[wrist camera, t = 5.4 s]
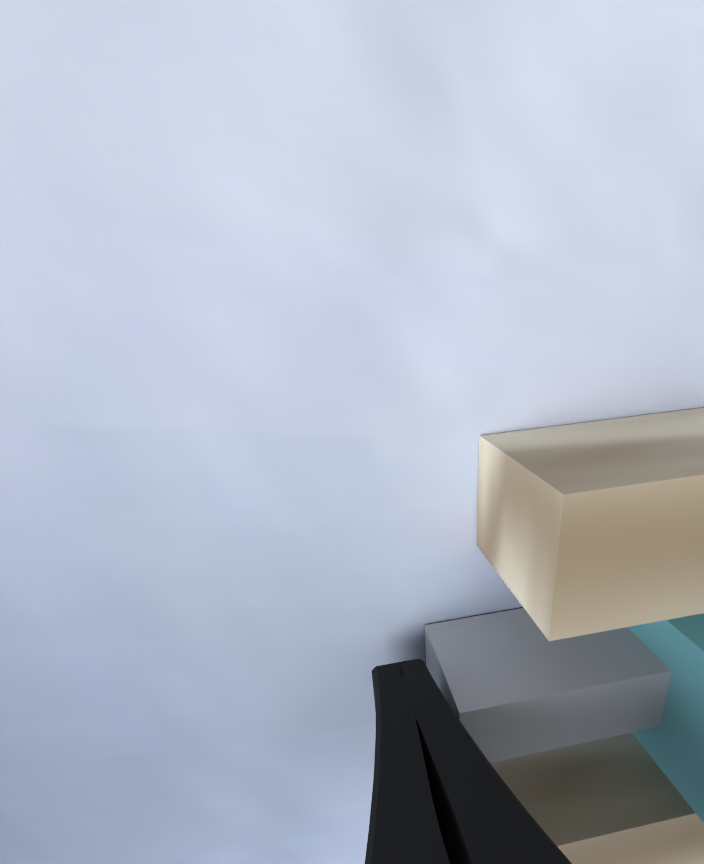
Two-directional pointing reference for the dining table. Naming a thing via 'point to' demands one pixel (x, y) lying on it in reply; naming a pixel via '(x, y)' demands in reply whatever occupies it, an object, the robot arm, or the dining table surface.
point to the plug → (577, 688)
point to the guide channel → (600, 604)
